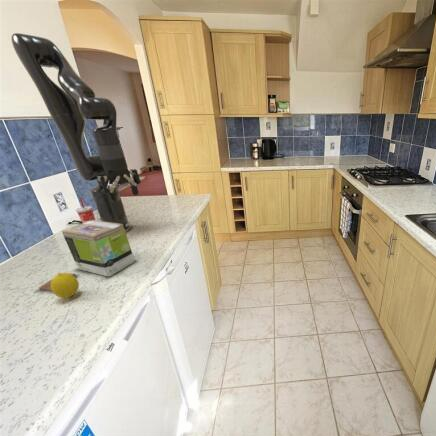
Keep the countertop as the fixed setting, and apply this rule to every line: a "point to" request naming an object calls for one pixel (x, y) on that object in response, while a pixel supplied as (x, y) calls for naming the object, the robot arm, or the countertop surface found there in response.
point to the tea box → (99, 247)
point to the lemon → (64, 285)
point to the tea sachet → (49, 285)
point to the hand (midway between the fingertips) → (125, 198)
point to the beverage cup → (85, 213)
